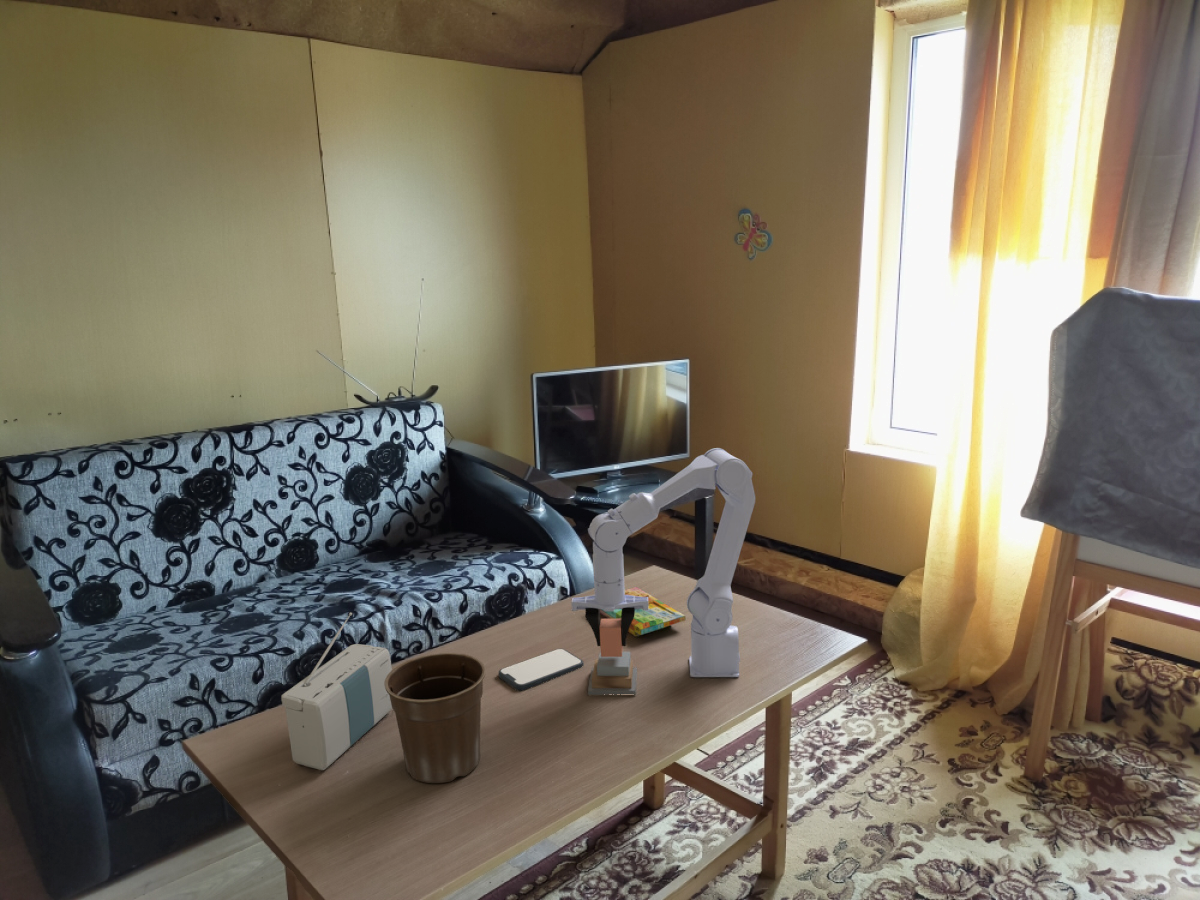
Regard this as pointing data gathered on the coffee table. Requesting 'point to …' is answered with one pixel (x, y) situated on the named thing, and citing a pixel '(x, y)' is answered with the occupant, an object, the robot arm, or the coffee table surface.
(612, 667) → the tower top slab
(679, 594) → the coffee table surface
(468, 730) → the plant pot
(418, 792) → the coffee table surface
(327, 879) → the coffee table surface
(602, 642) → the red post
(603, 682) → the tower middle slab
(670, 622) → the puzzle game
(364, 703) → the stereo radio cassette player
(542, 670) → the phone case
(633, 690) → the tower base slab
